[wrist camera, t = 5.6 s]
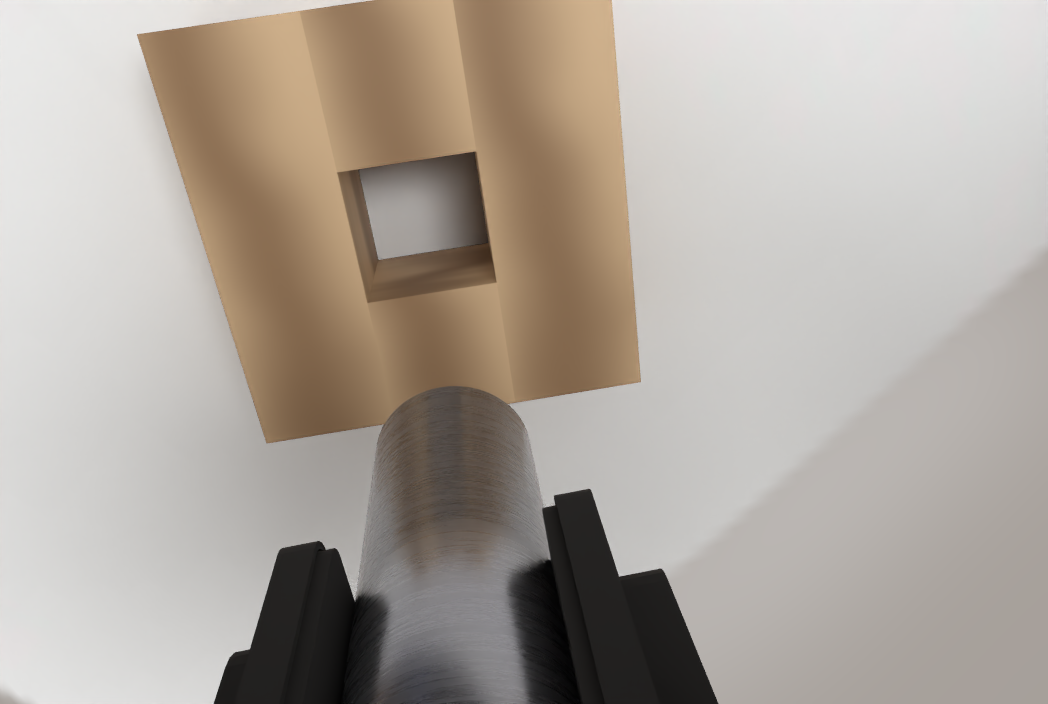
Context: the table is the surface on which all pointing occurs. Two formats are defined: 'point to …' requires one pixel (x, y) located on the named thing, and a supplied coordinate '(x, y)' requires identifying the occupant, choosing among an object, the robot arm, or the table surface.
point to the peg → (456, 564)
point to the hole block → (395, 137)
